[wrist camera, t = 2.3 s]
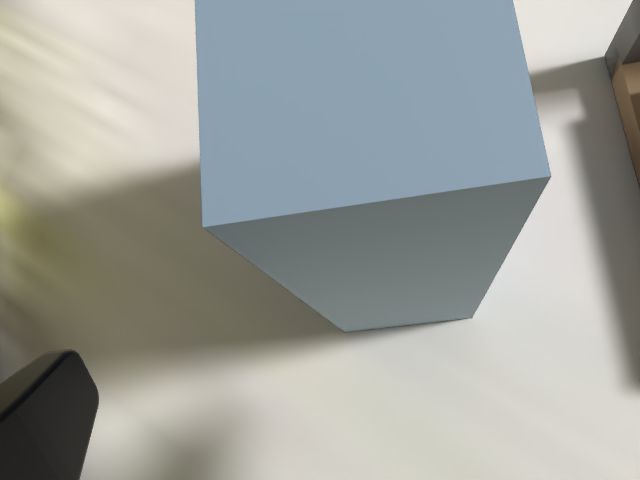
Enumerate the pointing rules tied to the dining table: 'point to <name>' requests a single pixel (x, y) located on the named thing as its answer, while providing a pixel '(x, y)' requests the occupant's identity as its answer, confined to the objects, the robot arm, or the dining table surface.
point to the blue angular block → (368, 149)
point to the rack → (628, 78)
